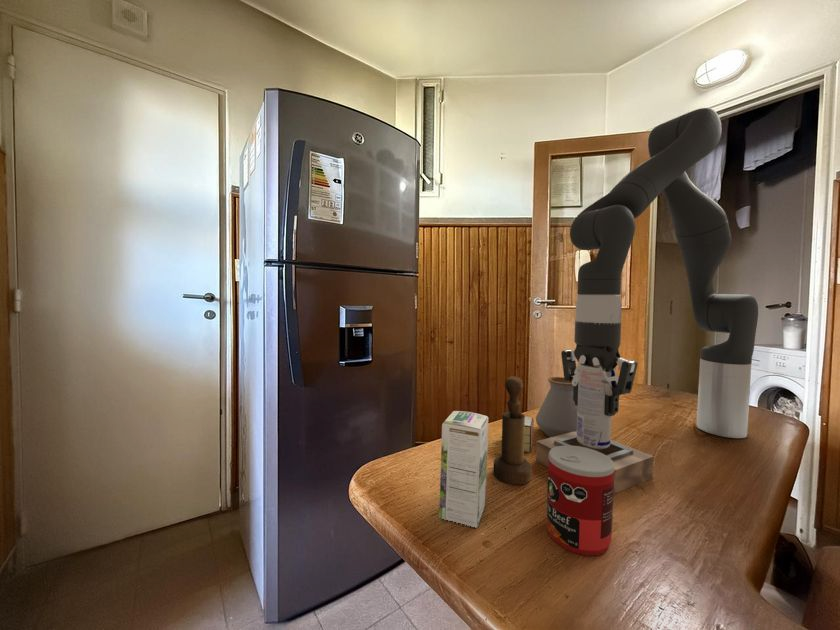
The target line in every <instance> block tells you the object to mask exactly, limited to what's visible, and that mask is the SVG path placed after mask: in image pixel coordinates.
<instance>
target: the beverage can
mask: <svg viewBox="0 0 840 630" xmlns="http://www.w3.org/2000/svg"><path fill="white" fill-rule="evenodd" d="M579 366H580V368H579V382H578V411H577V441H578V442H579V443H581V444H582V445H584V446H586V447H589V448H593V449H604V448H607V447H609V446H610V439H611V435H612V434H611V432H612V430H611V429H612V416H607V415H605V414H604V411H605V395H607V394H606V391H605V388H604V383H602V382H601V376H602V375H601V372H600V370H601V369H600V368H595V367H592V366H587V365H581V364H579ZM604 370H605V369H604ZM606 375H607V377H612V376H613V371H612V372H606ZM611 385H612V381H611Z"/></svg>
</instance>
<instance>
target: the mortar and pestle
mask: <svg viewBox="0 0 840 630" xmlns="http://www.w3.org/2000/svg"><path fill="white" fill-rule="evenodd" d="M504 386H505V389H506V390H507V393H508V394H509V400H507V407H508V411H506V412H503V413H502V417H501V418H502V421H501V425H502V426H501V453H500V454H499V455H498V456H496V457H495V458H494V459H493V469H492V471H493V472H492V473H493V475H494V477H495V478H497V480H499V481H501V482H503V483H506V484H510V485H518V486H519V485H525V484H528V483H529V482H531V480H532V465H531V463H530V462H529V461H528V460H527V459H526V458H525V452H524V427H525V417H526V416H525V414H523V413H521V412H520V409H521V404H522V403H521V401H520V400H519V395H520V393H521V392H522V391H523V388H524V383H523V380H522V379H521V378H520V377H518V376H513V375H512V376H509V377H508V378H507V379H506V380H505V385H504Z"/></svg>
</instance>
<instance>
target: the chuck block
mask: <svg viewBox="0 0 840 630" xmlns="http://www.w3.org/2000/svg"><path fill="white" fill-rule="evenodd" d="M535 444H536V450H535V453H536V454H535V462H537V463H538V464H541V465H542V466H544V467H545V468H547V469H548V456H549V451H550V450H551V449H552V448H554V447H557V446H565V445H570V446H580V447H585V448H589V447H586V446H584V445H582V444H581V443H579V442H578V441H577V431H574V432H570V433H566V434H562V435H558V436H555V437H548V438H543V439H540V440H536V443H535ZM589 449H592V450H595V451H598V452H600V453H602V454H604V455H606V456H608V457H609V458H610V459H611V460H612V461H613V463H614V494H613V495H616V494H618V493H619V492H622V491H624V490H627V489H629V488H632V487H634V486H637V485H639V484H641V483H644V482H647V481H649V480H652V479H653V474H654V455H652V454H649V453H647V452H643V451H641V450H639V449H636V448H633V447H631V446H628V445H626V444H623V443H621V442H618V441H616V440H613V439H611V438H610V446H609V447H607V448H604V449H593V448H589Z"/></svg>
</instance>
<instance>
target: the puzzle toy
mask: <svg viewBox="0 0 840 630" xmlns="http://www.w3.org/2000/svg"><path fill="white" fill-rule="evenodd" d="M534 421H535V420H534V418H533V417H530V416H525V427H524V453H526V452H527V453H531V452H532V449H533V443H534V424H535V423H534Z"/></svg>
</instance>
